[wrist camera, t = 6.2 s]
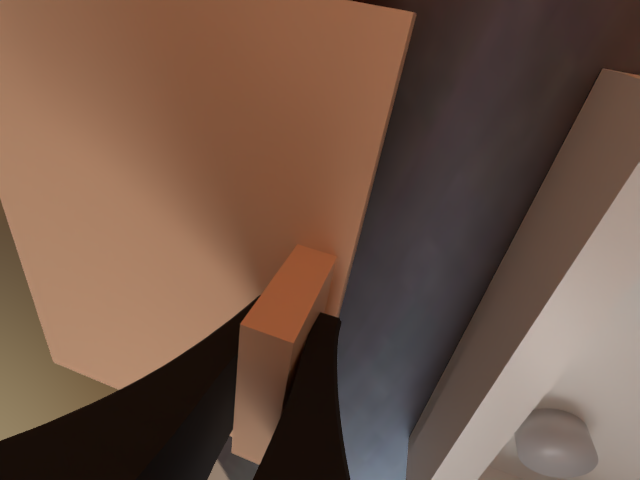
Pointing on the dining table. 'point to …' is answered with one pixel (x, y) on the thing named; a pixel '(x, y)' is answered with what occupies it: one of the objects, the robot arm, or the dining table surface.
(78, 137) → the lid
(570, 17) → the dining table surface
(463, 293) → the dining table surface
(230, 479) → the dining table surface
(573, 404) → the parts tray
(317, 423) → the robot arm
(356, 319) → the dining table surface
